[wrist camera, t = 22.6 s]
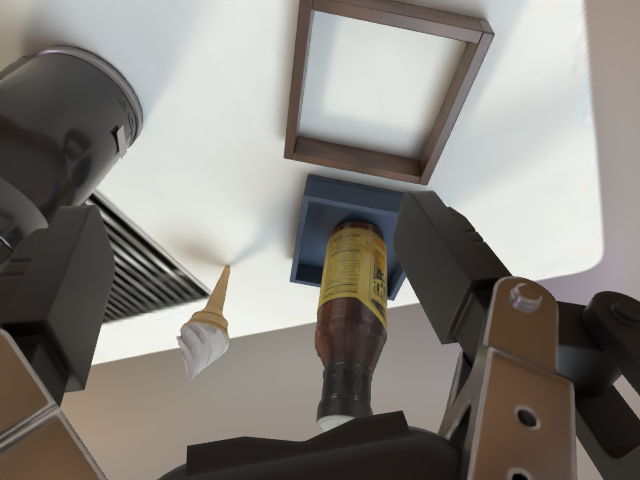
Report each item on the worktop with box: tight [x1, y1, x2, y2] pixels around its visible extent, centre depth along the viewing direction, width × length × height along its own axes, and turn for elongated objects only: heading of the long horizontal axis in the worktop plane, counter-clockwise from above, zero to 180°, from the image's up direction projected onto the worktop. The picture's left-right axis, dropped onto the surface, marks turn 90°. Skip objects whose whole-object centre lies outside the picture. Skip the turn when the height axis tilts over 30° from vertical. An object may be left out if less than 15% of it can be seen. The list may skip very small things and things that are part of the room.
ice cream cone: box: [177, 267, 230, 382], centre depth 45 cm, size 6×6×15 cm
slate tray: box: [290, 175, 406, 301], centre depth 42 cm, size 12×13×3 cm
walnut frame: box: [284, 0, 495, 185], centre depth 31 cm, size 13×13×2 cm
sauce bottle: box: [315, 221, 387, 432], centre depth 36 cm, size 6×6×20 cm
